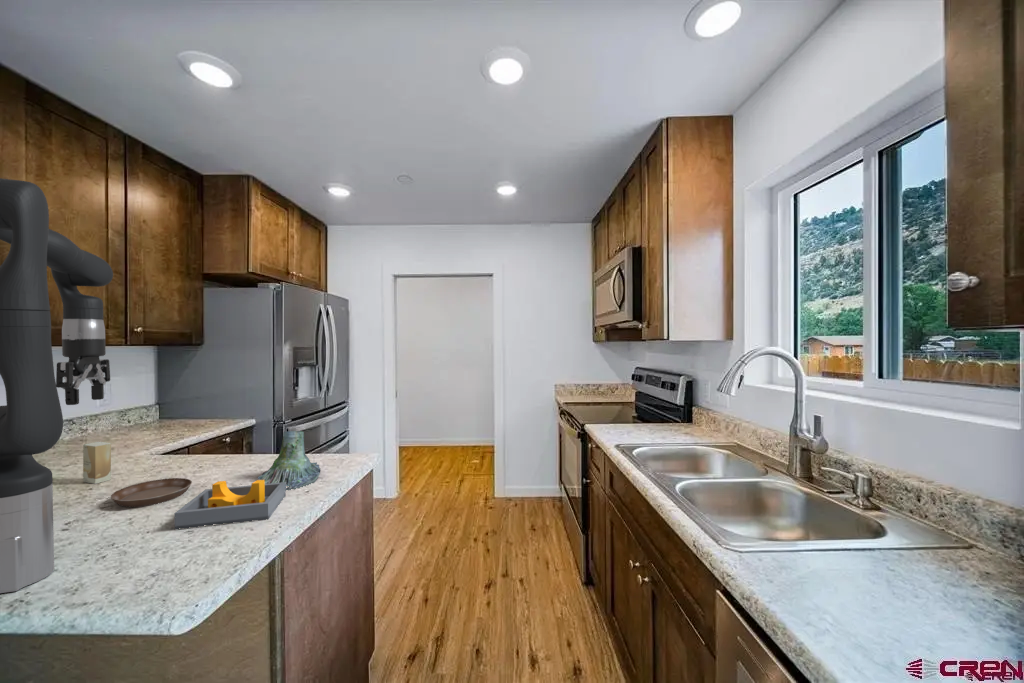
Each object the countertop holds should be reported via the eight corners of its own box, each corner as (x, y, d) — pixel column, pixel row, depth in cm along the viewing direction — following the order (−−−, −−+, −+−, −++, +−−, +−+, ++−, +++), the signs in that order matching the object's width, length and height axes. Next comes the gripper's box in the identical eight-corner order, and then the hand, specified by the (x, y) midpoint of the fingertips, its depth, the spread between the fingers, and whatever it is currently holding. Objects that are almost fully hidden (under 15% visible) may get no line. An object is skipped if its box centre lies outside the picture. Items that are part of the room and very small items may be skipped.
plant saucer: (207, 488, 127) (207, 478, 126) (151, 512, 109) (151, 500, 109) (155, 486, 128) (155, 476, 128) (92, 510, 111) (91, 498, 111)
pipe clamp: (208, 511, 106) (207, 487, 106) (219, 505, 111) (218, 481, 110) (255, 510, 107) (255, 485, 107) (264, 503, 111) (264, 479, 111)
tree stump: (242, 495, 120) (245, 433, 125) (273, 488, 140) (275, 434, 144) (307, 489, 123) (309, 428, 127) (329, 482, 142) (329, 429, 146)
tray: (268, 519, 103) (268, 503, 103) (174, 529, 98) (174, 513, 98) (285, 495, 119) (285, 482, 119) (205, 503, 113) (205, 489, 113)
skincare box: (82, 482, 132) (81, 444, 132) (99, 477, 136) (98, 441, 136) (95, 484, 130) (94, 445, 130) (112, 479, 134) (111, 442, 134)
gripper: (86, 337, 109) (88, 398, 109) (41, 337, 95) (42, 407, 95) (121, 337, 111) (122, 397, 111) (81, 337, 97) (82, 405, 97)
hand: (85, 402), depth 103 cm, fingers open, 8 cm apart
